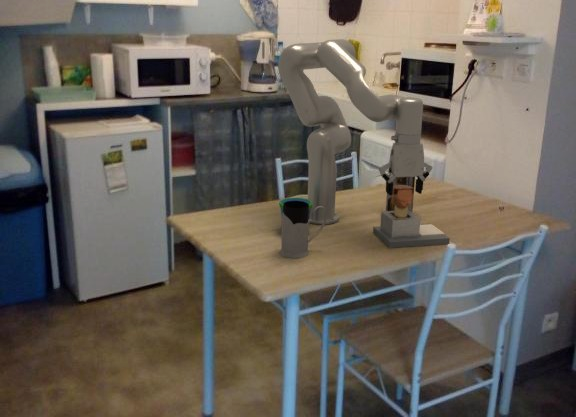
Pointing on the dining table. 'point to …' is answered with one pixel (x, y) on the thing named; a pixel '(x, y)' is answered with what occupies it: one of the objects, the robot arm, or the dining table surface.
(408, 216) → the grey hollow socket block
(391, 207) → the coffee box
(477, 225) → the dining table surface
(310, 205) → the snack cup
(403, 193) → the copper headed peg
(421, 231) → the cream pad
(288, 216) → the glass holder
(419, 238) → the charcoal board
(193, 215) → the dining table surface
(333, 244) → the dining table surface
